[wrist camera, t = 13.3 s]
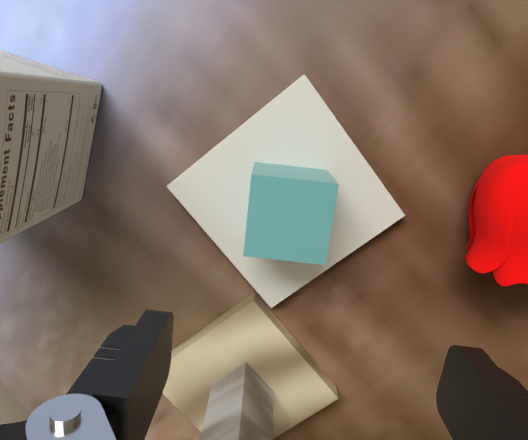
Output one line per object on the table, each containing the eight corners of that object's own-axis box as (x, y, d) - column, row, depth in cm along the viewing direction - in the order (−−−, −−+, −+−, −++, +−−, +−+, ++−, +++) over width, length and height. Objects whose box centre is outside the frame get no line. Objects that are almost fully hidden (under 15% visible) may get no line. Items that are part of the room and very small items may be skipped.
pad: (400, 211, 29) (405, 215, 28) (271, 301, 32) (271, 308, 31) (302, 75, 27) (304, 74, 26) (169, 183, 29) (166, 186, 28)
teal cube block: (327, 169, 28) (338, 183, 23) (316, 238, 29) (325, 265, 24) (254, 161, 28) (251, 174, 23) (247, 230, 29) (243, 256, 24)
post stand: (335, 386, 34) (367, 524, 23) (234, 449, 36) (218, 603, 25) (254, 291, 31) (245, 394, 20) (151, 364, 33) (92, 494, 22)
